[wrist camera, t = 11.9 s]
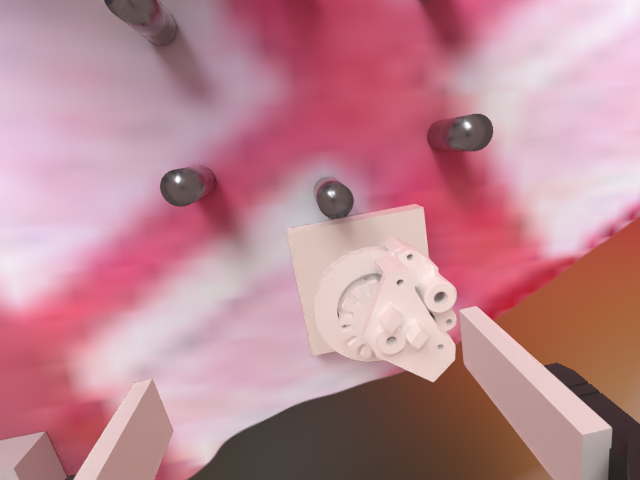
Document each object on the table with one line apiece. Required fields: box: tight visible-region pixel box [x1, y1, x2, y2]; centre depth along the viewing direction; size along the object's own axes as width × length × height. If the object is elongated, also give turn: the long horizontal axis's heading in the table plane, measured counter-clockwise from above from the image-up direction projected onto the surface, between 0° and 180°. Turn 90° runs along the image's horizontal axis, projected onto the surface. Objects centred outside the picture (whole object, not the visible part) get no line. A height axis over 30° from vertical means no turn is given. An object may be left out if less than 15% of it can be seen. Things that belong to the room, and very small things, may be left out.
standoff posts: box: [104, 0, 493, 219], centre depth 31 cm, size 24×28×7 cm
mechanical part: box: [314, 237, 457, 382], centre depth 32 cm, size 11×12×12 cm
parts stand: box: [286, 204, 429, 356], centre depth 39 cm, size 14×14×2 cm
